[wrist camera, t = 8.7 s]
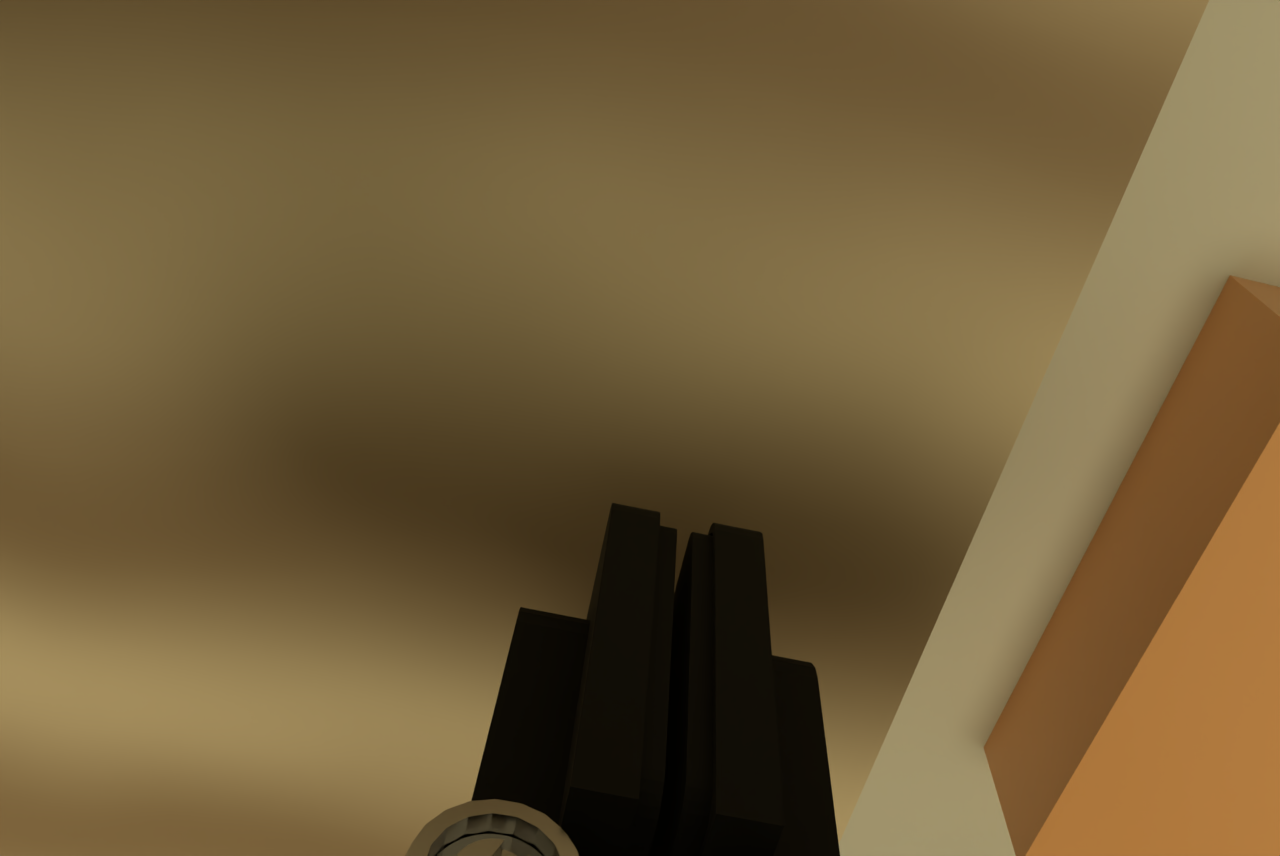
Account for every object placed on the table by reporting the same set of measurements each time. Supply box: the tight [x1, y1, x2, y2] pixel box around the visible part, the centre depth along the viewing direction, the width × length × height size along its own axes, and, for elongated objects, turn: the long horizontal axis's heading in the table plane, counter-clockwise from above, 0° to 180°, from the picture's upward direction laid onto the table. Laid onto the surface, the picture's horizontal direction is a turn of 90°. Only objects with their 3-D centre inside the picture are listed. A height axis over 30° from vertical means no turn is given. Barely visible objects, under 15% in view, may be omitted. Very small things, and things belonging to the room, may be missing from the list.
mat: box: [839, 0, 1280, 856], centre depth 17 cm, size 20×10×1 cm, turn 168°
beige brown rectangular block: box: [0, 0, 1209, 856], centre depth 15 cm, size 22×12×4 cm, turn 168°
